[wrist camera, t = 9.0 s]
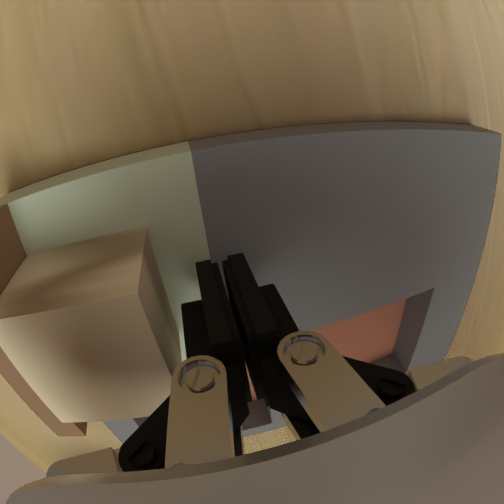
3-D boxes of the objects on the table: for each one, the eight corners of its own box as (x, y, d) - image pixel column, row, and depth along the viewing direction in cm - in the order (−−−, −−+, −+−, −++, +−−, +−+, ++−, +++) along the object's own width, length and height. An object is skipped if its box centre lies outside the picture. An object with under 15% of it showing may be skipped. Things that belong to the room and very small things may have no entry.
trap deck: (470, 124, 14) (549, 151, 9) (427, 341, 23) (467, 387, 18) (7, 193, 10) (-69, 258, 5) (132, 426, 19) (136, 496, 14)
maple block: (147, 225, 10) (137, 293, 7) (179, 333, 13) (187, 410, 9) (27, 254, 9) (-16, 321, 6) (76, 350, 12) (62, 422, 8)
